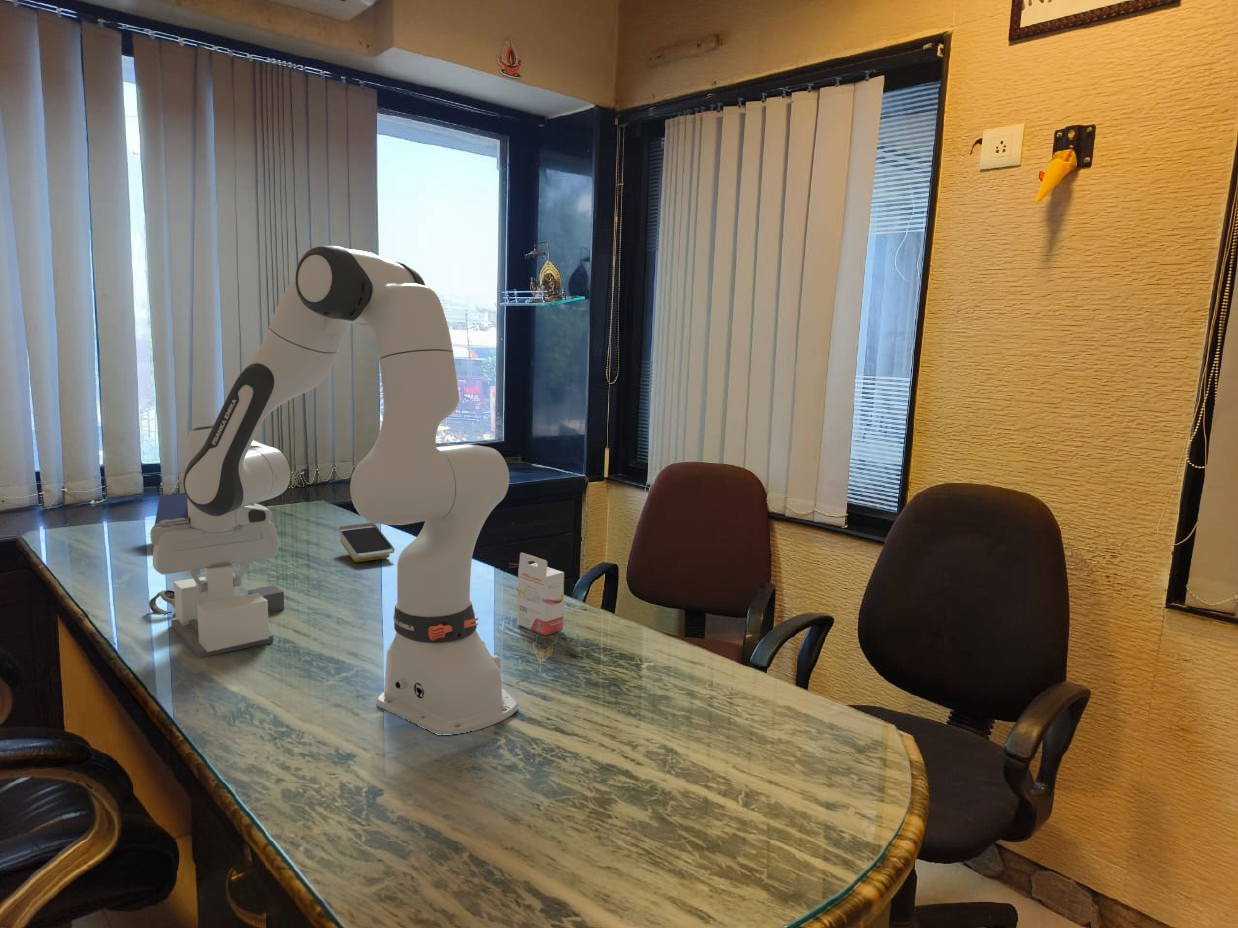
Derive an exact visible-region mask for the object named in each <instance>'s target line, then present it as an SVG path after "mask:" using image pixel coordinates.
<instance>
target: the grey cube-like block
mask: <svg viewBox="0 0 1238 928" xmlns="http://www.w3.org/2000/svg"><path fill="white" fill-rule="evenodd" d="M247 591H248V594H247V595H249V594H255V593H259V594H260V595H261V596H263V597H264V598H265V599H266V600H268V614H269V613H274V612H279V611H284V610H285V597H284V596H285V594H284V593H285V592H284V591H283V590H282V589H280V588H279V587H277V586H276V585H273V584H272V585H268V586H263V587H258V588H252V589H248V590H247Z"/></svg>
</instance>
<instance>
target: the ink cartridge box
mask: <svg viewBox="0 0 1238 928" xmlns="http://www.w3.org/2000/svg"><path fill="white" fill-rule="evenodd" d="M529 562H533V563H531V564H530V563H529ZM518 563H519V564H518V570H517V571H518V573H517V574H518V578H517V622H516V623H517V625H518V626H522V627H524V628H526V629H528V630H531V631H533V632H535V633H537V634H540V635H542V636H548V635H550V634H554V633H557V632H560V631H563V628H564V597H565V595H564V591H565V588H564V587H565V586H564V585H565V584H564V583H565V572H564V571H561V570H557V569H555V568H552V567H549V566H548V561H547V560H546V559H543V558H539V557H538V556H534V555H531V554H529V553H528V554H527V553H524V552H520V553H519V562H518Z"/></svg>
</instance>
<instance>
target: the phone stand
mask: <svg viewBox="0 0 1238 928" xmlns="http://www.w3.org/2000/svg"><path fill="white" fill-rule="evenodd" d="M185 517H188V503H187V496H186V494H185V493H183V494H182V493H181V494H180V493H179V494H177V493H176V494H160V495H159V498H158V503H157V510H156V514H155V521H154V525H156V524H158V523H160V521H162V520H173V519H178V518H185ZM157 527H161V526H160V525H159V526H157ZM153 549H154V545H153V544H152V550H153Z"/></svg>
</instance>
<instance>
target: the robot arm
mask: <svg viewBox="0 0 1238 928" xmlns="http://www.w3.org/2000/svg"><path fill="white" fill-rule="evenodd" d="M353 323H355V324H358V325H362V326H370V327H371V329H372V330H373V332H374V334H375V338H376V343H377V352H378V353H377V354H378V362H379V369H380V377H381V386H382V387H381V388H382V400H383V414H382V415H383V416H382V421H381V427H380V429H379V433H378V436H377V439H376V440H375V443H374V445H373V446H372V448H371V449H370V451H369V452H368V453H367V455H366V456H364V458H363V459H362V460H361V461H359V463H358V464H357V466H356V467H355V469H354V471H353V472H352V474H351V475H352V476H351V479H350V483H349V486H350V487H349V490H350V492H349V493H350V497H351V498H350V499H351V501H352V504H353V507H354V508H355V509H356V511H357V513H358V514H359V515H360V516H361V517H362V519H363V520H365V521H366V522H367V523H373V524H375V525H389V526H390V525H391V526H395V525H396V526H404V525H410V524H411V525H412V524H415V523H420V522H424V524H423V527H422V528H421V530H420V532H419V534H418V535H417V536H416V538H415V539H414V540H413V541H411V542H410V543H409V544H407V546H405V547H404V549H402V550H401V553H400V554H399V557H398V558H397V564H396V579H397V580H396V585H397V586H396V589H397V591H396V595H397V597H396V600H397V601H396V604H395V605H394V611H393V622H394V623H393V626H394V627H393V628H394V629H393V630H395V635H394V638H393V640H392V642H391V644H390V646H389V647H388V650H386V651H387V652H386V662H385V663H386V664H385V676H384V689H383V690H384V691H383V692H382V693H380V694H379V695H378V696H377V699H376V706H377V707H378V708H381V709H382V708H383V709H382V710H384V709H385V711H386V710H387V712H388V711H389V713H390V712H392V713H391V714H393V713H394V714H393V715H395V714H396V715H395V716H397V715H399V716H401V717H403V718H404V719H403V718H402V719H403V720H405V719H407V720H409V721H411V722H413V723H415V724H417V725H419V726H421V727H424V728H426V729H427V730H430V731H432V732H434V733H437V734H441V735H443V734H458V735H461V734H460V733H464V734H467V733H466V732H468V733H471V732H470V731H472V732H475V731H478V730H481V729H485V728H487V727H490V726H492V725H495V724H497V723H501V722H502V721H504V720H506V719H508V718H509V717H511V716H512V715H513V714H515V713H516V712H517V711H518V708H519V706H518V702H517V700H515V699H514V697H513V696H511V694H510V693H508V691H506V689H505V688H504V687H503V686H502V685H503V684H502V675H501V670H500V669H501V660H500V657H499V656H498V655H496V654H494V655H491V653H490V652H489V649H488V648H487V646H486V643H485V641H483V639H482V638H481V637H480V635H479V633H478V632H477V627H478V625H479V623H477V622H476V621H478V620H479V618H478V617H476V613H475V611H474V608H473V604H472V601H471V599H470V597H471V573H472V572H471V571H472V559H473V554H474V550H475V546H476V543H477V542H478V541H477V540H478V537H479V535H480V532H481V531H482V528H483V526H484V524H485V522H486V520H487V519H488V517H489V516H490V514H491V513H492V511H493V510H494V509H495V508H496V507H497V505H499V504H500V503H501V502H502V501H503V500H504V498H505V497H506V495H507V493H508V490H509V486H510V471H509V467H508V465H507V462H506V460H505V458H504V457H503V455H502V454H501V453H500V452H499V451H498V450H497V449H495V448H493V447H490V446H484V445H477V444H468V443H462V444H453V445H445V446H444V445H443V446H437V444H436V443H437V442H436V441H437V432H438V430H439V427H440V424H441V422H443V421H444V420H445V419H448V417H449V416H450V415H452V414H453V413H454V411H455V410H456V409H457V407H458V405H459V401H460V391H459V385H458V378H457V371H456V364H455V357H454V356H455V355H454V349H453V343H452V338H451V333H450V329H449V325H448V321H447V316H446V315H445V311H444V309H443V305H442V302H441V299H440V297H439V296H438V295H437V293H436V292H435V291H434V290H433V289H431V288H430V287H429V286H426V283H425V282H424V278H423V277H422V276H421V275H420V274H419V273H418V272H417V271H416V270H414V269H413V268H411V267H410V266H408V265H406V264H404V263H402V262H399V261H392V260H390V259H387V258H384V257H382V256H379V255H377V254H375V253H373V252H368V251H364V250H358V249H352V248H351V249H350V248H345V247H342V246H339V245H321V246H315V247H312V248H311V249H309V250H308V251H306V252H305V253H304V254H303V255H302V257H301V259H300V260H299V262H298V265H297V267H296V271H295V276H294V277H293V278H292V279H291V281H290V282H289V284H288V286H287V287H286V289H285V291H284V292H283V294H282V296H281V298H280V300H279V302H278V303H277V306H276V308H275V311H274V313H273V316H272V318H271V321H270V323H269V326H268V329H267V332H266V335H265V336H264V339H263V341H262V343H261V345H260V346H259V348H258V350H257V352H256V353H255V356H254V357H253V358H252V359H251V361H250V362H249V363H248V365H247V366H246V367H245V368H244V369H243V371H242V372H241V373H240V374H239V375H238V377H237V378H236V380H235V382H234V383H233V385H232V387H231V389H230V391H229V393H228V394H227V397H226V399H225V401H224V403H223V405H222V407H221V409H220V412H219V413H218V415H217V417H216V420H215V421H214V424H211V425H204V426H203V425H202V426H198V427H194V428H193V429H192V430H190V431H189V433H188V437H187V439H186V445H185V470H184V475H183V481H182V483H183V484H182V485H183V490H184V494H186V496H187V503H188V517H185V518H178V519H173V520H162V521H160V523H158V524H156V525H155V524H154V525H153V526H151V530H150V531H149V532H150V533H149V534H150V542H151V544H152V546H153V545H154V549H153V548H152V568H153V569H154V570H155V571H156V572H157V573H159V574H161V575H163V576H164V575H170V574H171V575H172V574H176V573H182V572H183V573H184V572H187V573H188V575H189V577H191V579H193V580H194V581H195V582H196V591H197V592H198V593H201V592H207V582H205V580H201V581H200V580H199V575H200V574H201V569H202V570H203V569H204V568H209V567H210V566H213V565H220V564H227V563H229V564H232V565H234V564H236V566H237V567H238V568H237V569H236V572H235V573H234V575H233V587H236V586H240V587H241V586H242V585H243V579H242V578H243V576H244V575H245V573H246V571H247V569H248V568H249V562H253V561H259V560H267V559H273V558H275V557H276V556H277V554H278V553H279V549H280V548H279V539H278V532H277V527H276V526H275V525H274V523H273V522H271V520H272V519H273V518H272V517H273V513H272V511H271V510H270V509H268V507H266V506H264V505H262V504H259V503H260V502H263V501H268V500H270V499H271V500H272V499H273V498H276V497H278V496H280V495H282V494H284V493H285V492H286V491H287V489H288V488H289V486H290V484H291V480H292V468H291V467H292V466H291V464H290V461H289V459H288V457H287V456H286V455H285V453H284V452H282V450H280V449H279V448H277V447H275V446H273V445H272V446H271V445H267V444H264V443H261V442H260V441H257V440H255V438H256V436H257V433H258V431H259V430H260V427H261V425H262V424H263V422H264V420H265V419H266V418H267V417H268V416H269V415H270V414H271V413H272V412H273V411H274V410H275V409H277V408H278V407H280V406H281V405H282V404H285V403H287V402H288V401H291V399H294V398H296V397H298V396H300V395H303V394H305V393H308V392H311V391H312V390H313V389H315V388H317V387H319V386H320V385H321V384H322V383H323V382H324V380H325V379H326V377H327V376H328V375H329V373H330V371H331V369H332V368H333V366H334V363H335V360H336V358H337V355H338V352H339V350H340V346H341V343H342V341H343V337H344V334H345V332H346V331H347V329H348V328H349V326H350V325H351V324H353ZM159 525H160V526H161V527H157V526H159ZM399 716H398V717H399ZM401 717H400V718H401ZM407 720H406V721H407ZM409 721H408V722H409ZM411 722H410V723H411ZM413 723H412V724H413ZM415 724H414V725H415ZM417 725H416V726H417ZM419 726H418V727H419ZM421 727H420V728H421ZM427 730H426V731H427Z"/></svg>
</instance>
